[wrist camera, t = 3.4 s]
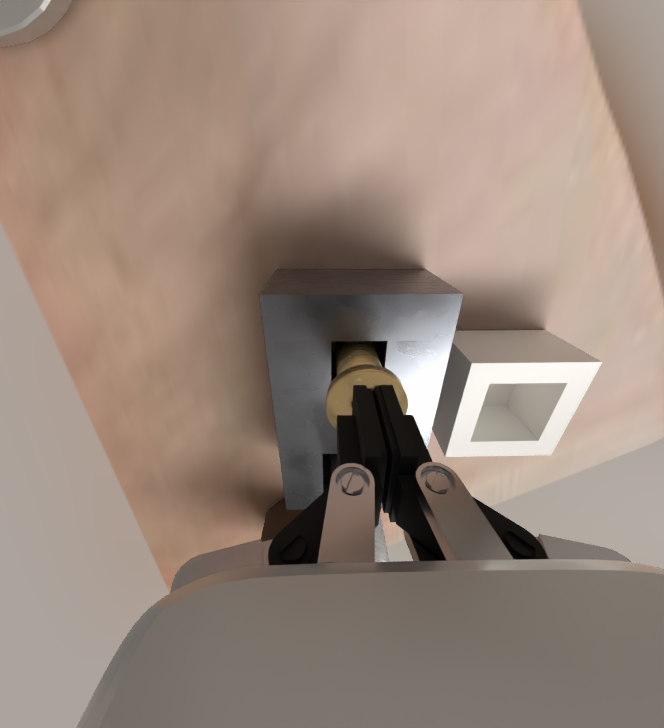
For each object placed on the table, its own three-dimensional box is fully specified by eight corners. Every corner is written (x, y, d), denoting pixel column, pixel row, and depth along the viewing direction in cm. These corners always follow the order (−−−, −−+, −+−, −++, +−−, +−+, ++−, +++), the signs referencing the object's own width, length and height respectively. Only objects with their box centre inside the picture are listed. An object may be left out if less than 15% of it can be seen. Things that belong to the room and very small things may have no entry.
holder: (441, 330, 21) (471, 363, 17) (545, 329, 21) (602, 362, 17) (424, 413, 25) (445, 456, 21) (512, 412, 25) (551, 455, 21)
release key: (325, 319, 17) (325, 374, 11) (384, 318, 17) (413, 373, 11) (325, 370, 19) (326, 439, 13) (379, 369, 19) (402, 438, 13)
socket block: (277, 269, 19) (258, 294, 14) (425, 269, 19) (463, 293, 14) (293, 451, 27) (286, 509, 22) (396, 449, 27) (413, 507, 22)
